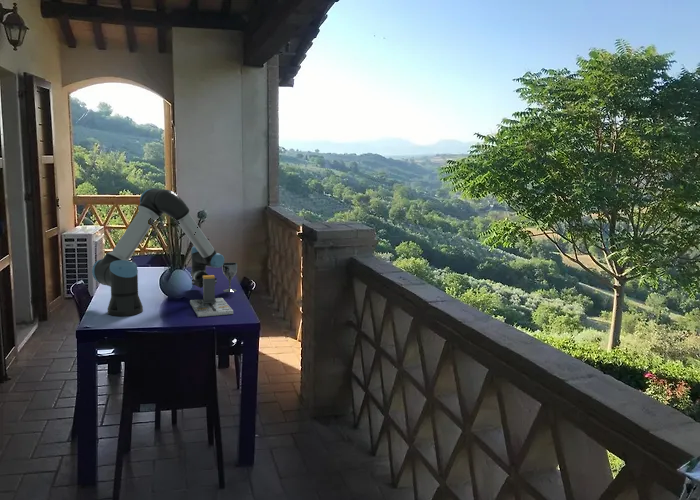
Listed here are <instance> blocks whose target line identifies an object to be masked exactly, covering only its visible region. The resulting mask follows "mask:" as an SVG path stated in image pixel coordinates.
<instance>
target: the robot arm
mask: <svg viewBox="0 0 700 500" xmlns="http://www.w3.org/2000/svg"><path fill="white" fill-rule="evenodd" d="M137 208H138V212H137V214H136V215H135V216H134V217H133V219H132V221H131V222H130V224H129V225H128V227H127V229H126V230H125V231H124V233H123V235H122V236H121V238H120V239H119V240H118V242H117V243H116V245H115V246H114V247H113V249H112V250H111V251H109V252H107V253H106V254H105V255H104V256H103V258H101V259H98V260H97V261H96V262H94V264H93V266H92V269H91V273H92V278H93V279H94V280H95V281H96V282H97V283H99V284H101V285H103V286H107V287H110V300H109V302H108V306H107V315H109V314H110V316H113V317H128V316H135V315H138V314H141V313H143V311H144V309H143V308H144V307H143V303H142V301H141V299H140V296H139V273H138V272H139V270H138V264H137V263H136V262H134V261H132V260H130V259H131V257H132V255H134V252H135V251H136V250H137V248H138V247H139V245H140V243H141V242H142V241H143V239H144V237H145V236H146V235H147V233H148V231H149V230H150V229H151V227H152V225H149V224H148V220H149V219H150V218H151V219H153V220H154V222H155V221H158V220H157V219H158V218H159V216H161V217H162V216H163V215H164V214H166V215H167V216H168V217H170V218H171V217H173V218H175V219H176V220H178V221H179V223H180V224H178V226H179V227H180V228H181V230H182V231H183V233H184V234H185V235H186V237H187V238H188V239H189V241H190V242H191V243H192V245H193V246H192V247H191V253H190V255H191V269H190V270H191V271H190V276H192V277H191V278H192V279H191V286H196V287H198V288H200V289H201V288H202V289H203V276H205V275H209V273H208V272H207V266H208V267H211V268H218V269H219V268H222V265H223V264H224V263H225V257H224V255H223V254H221V253H219V252H217V250H216V249H215V248H214V247H213V245H212V243H211V242H210V240H209V239H208V238H207V237H206V235H205V233H204V232H203V230H202V229H201V228H200V226H199V225H198V223H197V222H196V220H195V219H194V218H193V216H192V215H191V213H190V211H191V210H190V208H189V207H188V205H187V204H186V203H185V201H184V200H183V199H182V198H181V197H180V196H179V194H177V193H176V192H174V191H172V190H171V189H163V188H162V189H161V188H156V187H155V188H149V189H146V190H144V191H143V192H142V193H141V195H140V197H139V205H138V207H137ZM197 227H198V228H197ZM195 232H196V233H195ZM194 234H195V235H194ZM217 280H218V279H217V278H216V277H215V285H216V284H218V281H217Z"/></svg>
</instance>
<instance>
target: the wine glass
mask: <svg viewBox="0 0 700 500" xmlns="http://www.w3.org/2000/svg"><path fill="white" fill-rule="evenodd" d="M221 268H222V273H223V276H225V278H226V279H227V281H228V285H229V286H228V289H227V288H226V289H223V290H222V291H223V292H225V293H235V292H237V289H235V288H231V286H232V285H231V284H232V280H233V278H234V277H235V276H236V274H237V272H238V262H232V261H230V262H224V264H223V265H222V266H221Z"/></svg>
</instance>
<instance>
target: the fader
mask: <svg viewBox="0 0 700 500" xmlns="http://www.w3.org/2000/svg"><path fill="white" fill-rule="evenodd" d="M215 278H216V277H215V275H214V274H208V275H205V276H203V287H202V295H203V296H202V297H203V298H202V302H203V303H216V300H215V298H216V291H215V288H216V287H215V286H216V284H215Z"/></svg>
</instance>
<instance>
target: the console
mask: <svg viewBox="0 0 700 500" xmlns="http://www.w3.org/2000/svg"><path fill="white" fill-rule="evenodd" d="M202 299H203V298H202ZM202 299H190V300H189V304H190V306H191V308H192V310H193V311H194V312H195V314H196V316H197V318H202V317H203V318H204V317H214V316H215V317H216V316H225V315H226V316H229V315H234V309H232V307H231V306H230V305H229V304H228V302H227V301H226V300H225V299H224V298H223V297H217V298H216V297H215V300H216V303H203V302H202Z"/></svg>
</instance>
